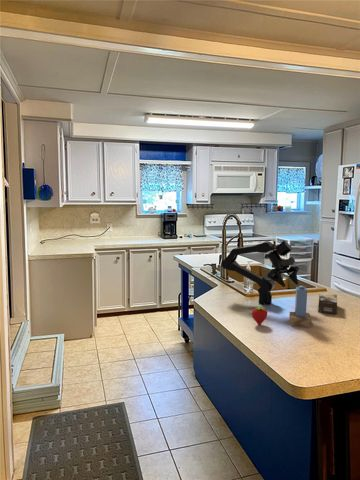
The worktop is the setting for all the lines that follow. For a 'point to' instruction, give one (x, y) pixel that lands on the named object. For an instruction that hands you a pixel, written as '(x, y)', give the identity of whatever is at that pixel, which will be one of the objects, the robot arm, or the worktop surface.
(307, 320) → the walnut base
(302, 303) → the blue-grey tall block
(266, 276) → the robot arm
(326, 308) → the coffee box
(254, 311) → the strawberry
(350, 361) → the worktop surface
